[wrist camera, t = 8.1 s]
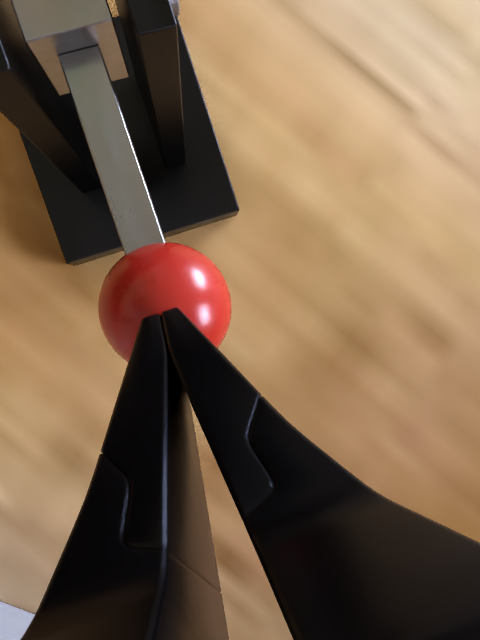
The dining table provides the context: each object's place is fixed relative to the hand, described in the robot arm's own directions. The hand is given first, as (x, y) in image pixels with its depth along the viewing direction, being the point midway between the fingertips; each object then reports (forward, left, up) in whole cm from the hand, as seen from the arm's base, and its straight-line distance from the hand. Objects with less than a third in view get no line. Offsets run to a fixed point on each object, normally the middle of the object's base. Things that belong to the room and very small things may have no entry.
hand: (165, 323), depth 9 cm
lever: (+3, -3, -4) cm, 6 cm away
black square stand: (+6, -6, -11) cm, 14 cm away
